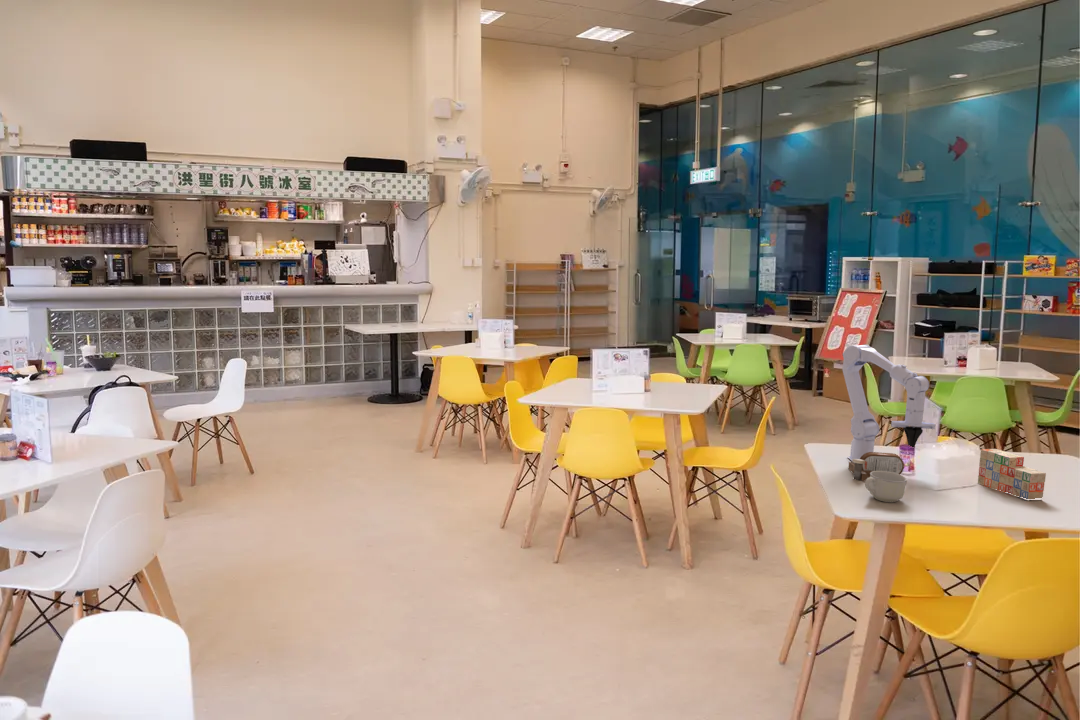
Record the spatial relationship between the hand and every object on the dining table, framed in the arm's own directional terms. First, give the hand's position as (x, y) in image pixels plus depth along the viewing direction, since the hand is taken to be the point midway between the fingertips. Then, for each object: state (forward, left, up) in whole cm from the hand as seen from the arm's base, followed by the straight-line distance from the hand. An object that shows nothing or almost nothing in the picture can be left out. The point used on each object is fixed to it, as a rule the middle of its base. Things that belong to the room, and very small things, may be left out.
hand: (911, 447), depth 289 cm
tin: (+6, -12, -10) cm, 16 cm away
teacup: (+36, -21, -10) cm, 43 cm away
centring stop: (+6, -19, -9) cm, 22 cm away
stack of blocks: (+17, +26, -10) cm, 33 cm away
